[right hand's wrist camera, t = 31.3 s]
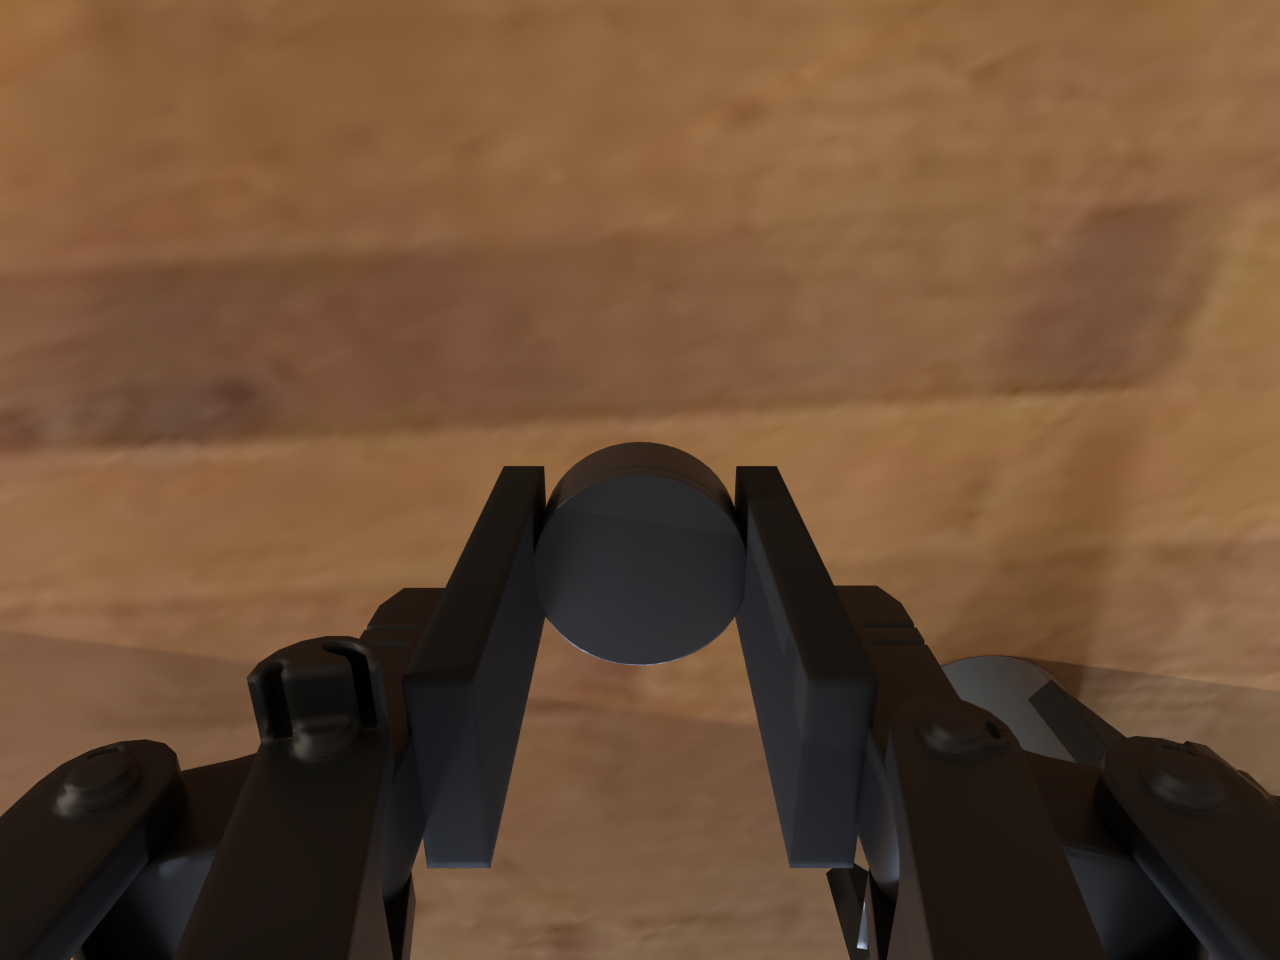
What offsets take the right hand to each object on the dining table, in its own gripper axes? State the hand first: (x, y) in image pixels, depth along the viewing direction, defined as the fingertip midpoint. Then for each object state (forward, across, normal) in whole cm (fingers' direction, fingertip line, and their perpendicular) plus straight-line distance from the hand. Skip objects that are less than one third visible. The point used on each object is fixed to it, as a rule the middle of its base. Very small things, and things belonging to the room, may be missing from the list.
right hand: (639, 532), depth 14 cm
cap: (-2, 0, 0) cm, 2 cm away
